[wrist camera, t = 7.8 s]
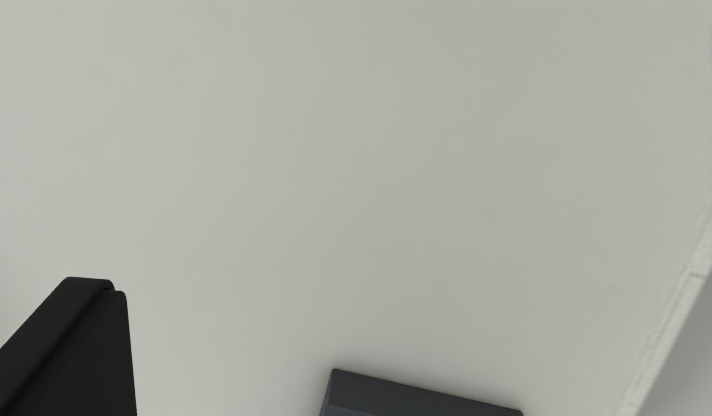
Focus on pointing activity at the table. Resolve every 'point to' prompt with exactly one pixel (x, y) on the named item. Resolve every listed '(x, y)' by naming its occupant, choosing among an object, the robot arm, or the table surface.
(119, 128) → the table surface
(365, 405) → the dark grey button housing
